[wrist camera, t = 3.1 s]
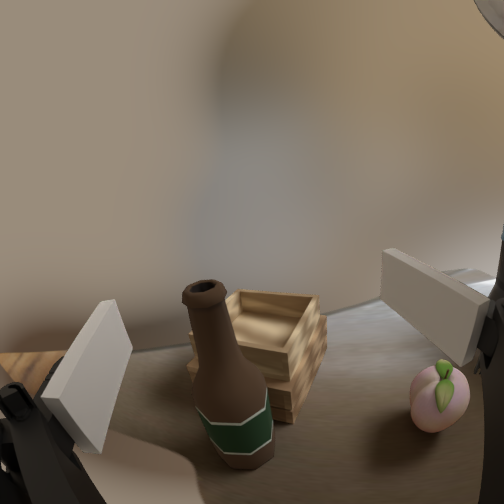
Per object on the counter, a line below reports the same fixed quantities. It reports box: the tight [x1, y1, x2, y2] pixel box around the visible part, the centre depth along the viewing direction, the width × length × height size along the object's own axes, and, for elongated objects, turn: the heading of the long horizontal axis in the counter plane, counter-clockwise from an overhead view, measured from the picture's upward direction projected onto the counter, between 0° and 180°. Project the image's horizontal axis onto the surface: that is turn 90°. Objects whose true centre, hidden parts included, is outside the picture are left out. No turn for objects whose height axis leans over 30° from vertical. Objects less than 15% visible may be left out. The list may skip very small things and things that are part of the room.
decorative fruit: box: [410, 359, 470, 433], centre depth 25 cm, size 9×8×10 cm
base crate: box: [186, 315, 327, 424], centre depth 43 cm, size 18×16×7 cm
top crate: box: [189, 289, 320, 381], centre depth 41 cm, size 15×15×5 cm
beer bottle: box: [182, 280, 275, 469], centre depth 26 cm, size 8×8×24 cm
